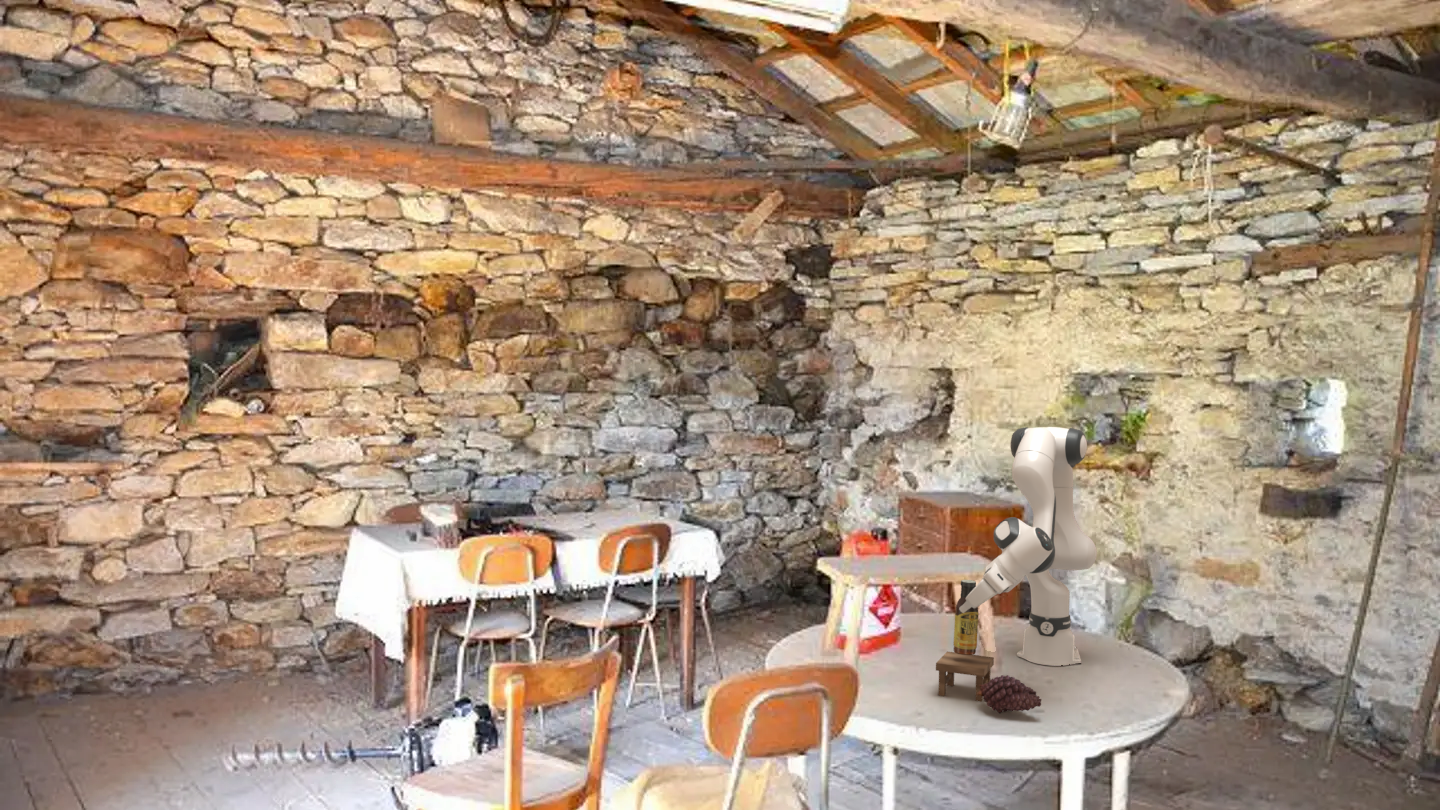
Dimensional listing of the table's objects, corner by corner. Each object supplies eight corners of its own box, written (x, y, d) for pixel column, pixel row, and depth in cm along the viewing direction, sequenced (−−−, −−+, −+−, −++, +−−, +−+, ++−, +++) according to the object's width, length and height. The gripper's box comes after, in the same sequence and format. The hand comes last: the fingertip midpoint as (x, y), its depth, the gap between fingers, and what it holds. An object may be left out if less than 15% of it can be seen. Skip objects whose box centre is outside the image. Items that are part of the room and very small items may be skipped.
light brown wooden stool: (946, 682, 310) (947, 651, 309) (993, 689, 304) (993, 657, 304) (935, 695, 298) (935, 663, 298) (983, 702, 293) (984, 669, 292)
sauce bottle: (960, 656, 297) (961, 583, 296) (949, 650, 303) (950, 579, 302) (981, 655, 298) (983, 582, 297) (970, 649, 304) (972, 578, 303)
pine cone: (1047, 717, 282) (1048, 678, 281) (1030, 726, 274) (1031, 687, 274) (984, 701, 293) (985, 665, 293) (966, 710, 286) (967, 673, 285)
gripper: (1000, 560, 306) (964, 591, 311) (985, 573, 287) (947, 606, 292) (1016, 577, 304) (980, 608, 309) (1002, 591, 286) (964, 624, 290)
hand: (964, 607), depth 300 cm, fingers closed on sauce bottle, 6 cm apart
